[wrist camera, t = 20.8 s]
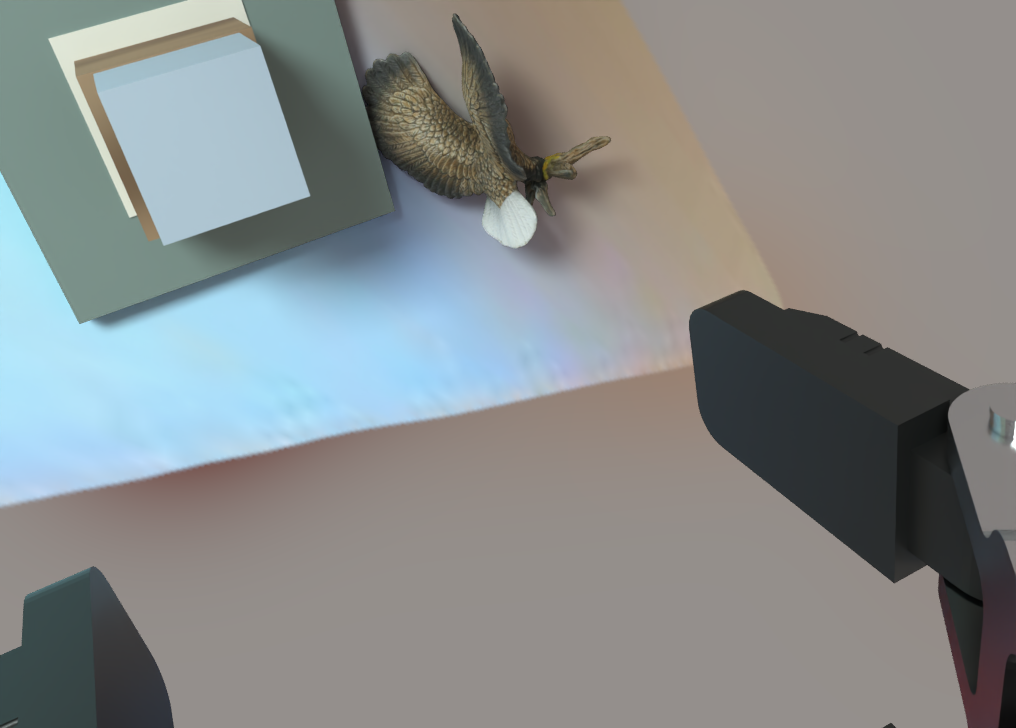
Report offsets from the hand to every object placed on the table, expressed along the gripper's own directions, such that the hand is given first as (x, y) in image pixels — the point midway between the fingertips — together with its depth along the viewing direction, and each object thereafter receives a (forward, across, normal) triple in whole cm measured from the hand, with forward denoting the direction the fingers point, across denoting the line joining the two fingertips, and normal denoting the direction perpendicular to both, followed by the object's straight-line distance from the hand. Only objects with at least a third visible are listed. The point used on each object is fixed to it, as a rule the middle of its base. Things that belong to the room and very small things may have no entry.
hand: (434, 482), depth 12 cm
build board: (+30, 0, 0) cm, 30 cm away
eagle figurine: (+30, -11, +4) cm, 33 cm away
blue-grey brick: (+25, 0, 0) cm, 25 cm away
